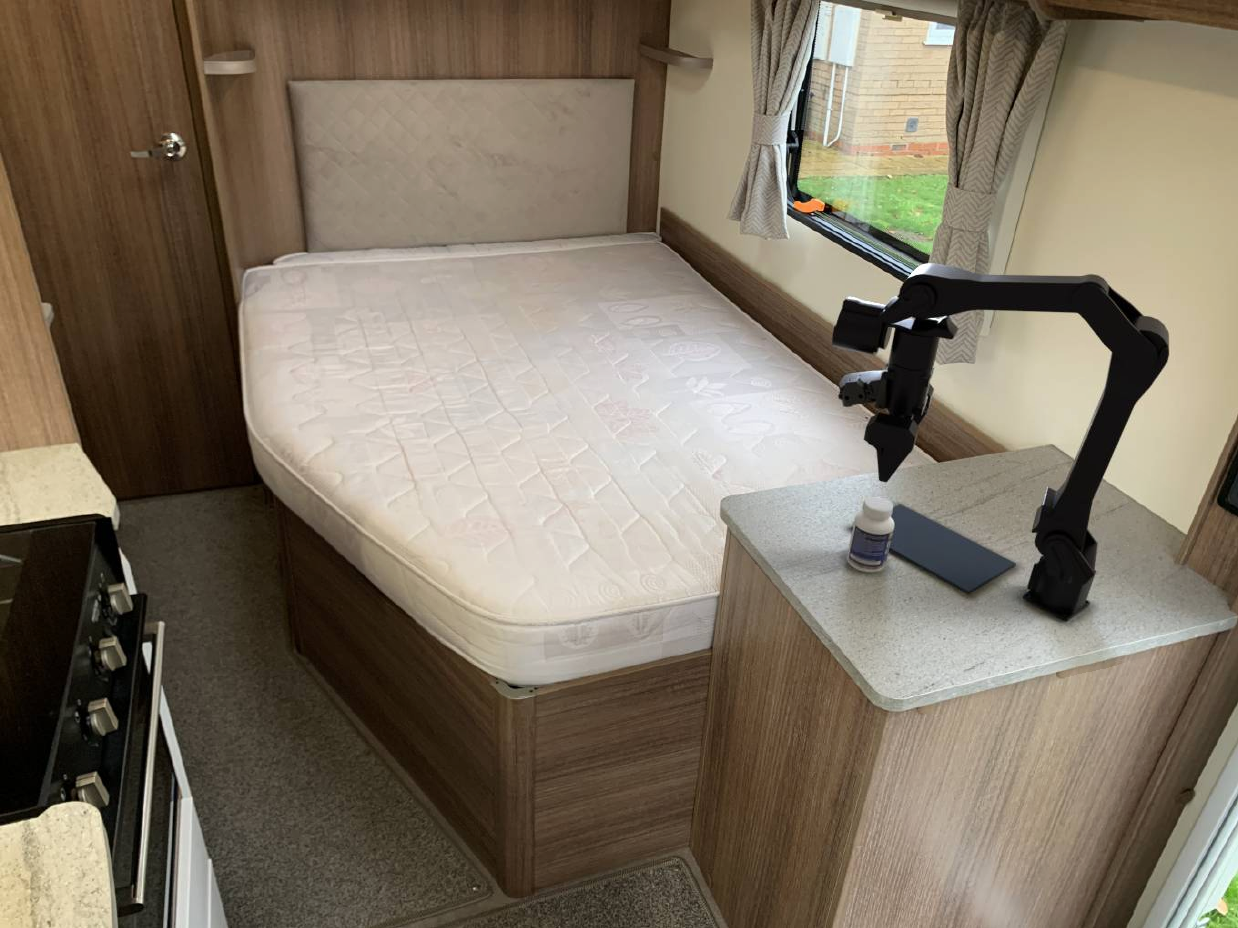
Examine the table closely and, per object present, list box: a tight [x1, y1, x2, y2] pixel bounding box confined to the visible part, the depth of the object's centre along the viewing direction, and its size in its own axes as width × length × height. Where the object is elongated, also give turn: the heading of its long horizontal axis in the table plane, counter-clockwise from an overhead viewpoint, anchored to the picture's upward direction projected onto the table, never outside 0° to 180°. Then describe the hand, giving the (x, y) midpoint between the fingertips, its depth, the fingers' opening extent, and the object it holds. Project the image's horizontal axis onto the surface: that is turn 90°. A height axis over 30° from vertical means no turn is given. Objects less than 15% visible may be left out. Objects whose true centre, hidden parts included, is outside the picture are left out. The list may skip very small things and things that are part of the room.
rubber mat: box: [851, 503, 1017, 595], centre depth 139 cm, size 20×12×1 cm, turn 39°
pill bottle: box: [846, 496, 894, 573], centre depth 132 cm, size 5×5×10 cm
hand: (888, 467), depth 132 cm, fingers open, 9 cm apart
